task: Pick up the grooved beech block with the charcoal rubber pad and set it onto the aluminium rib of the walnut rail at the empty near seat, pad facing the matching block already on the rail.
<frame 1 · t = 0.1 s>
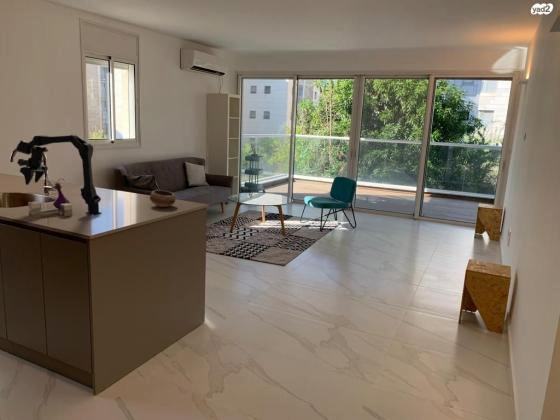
hand: (31, 183, 248), 15 cm above the table, tool pointing down, fingers open, 9 cm apart
bowl: (162, 206, 281), on the table
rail: (44, 215, 240), on the table
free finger: (66, 214, 245), on the table
perfume bottle: (61, 208, 260), on the table
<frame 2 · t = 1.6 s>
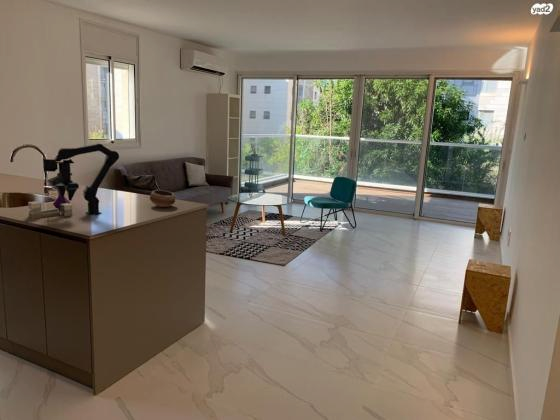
hand: (66, 199, 244), 9 cm above the table, tool pointing down, fingers open, 9 cm apart
nothing on the table moved.
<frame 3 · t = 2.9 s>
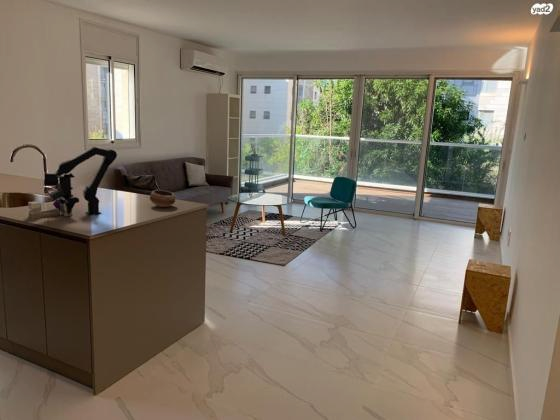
hand: (66, 213, 245), 1 cm above the table, tool pointing down, fingers closed on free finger, 5 cm apart
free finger: (66, 214, 245), on the table, touching gripper
everything else where it was.
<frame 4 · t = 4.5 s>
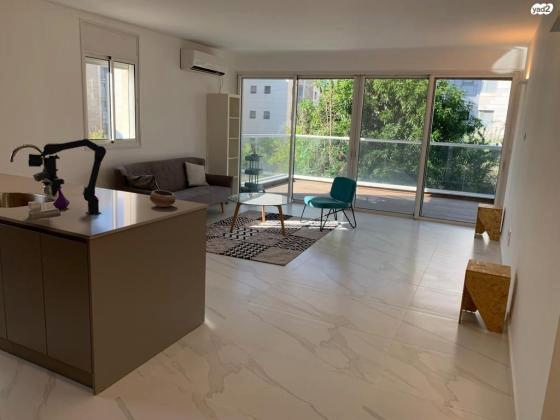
hand: (51, 195, 241), 11 cm above the table, tool pointing down, fingers closed on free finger, 5 cm apart
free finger: (51, 197, 241), point 10 cm above the table, touching gripper
everything else where it was.
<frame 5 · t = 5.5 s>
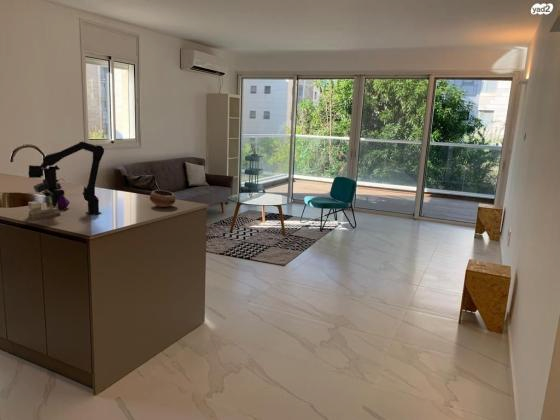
hand: (52, 205, 242), 5 cm above the table, tool pointing down, fingers closed on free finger, 5 cm apart
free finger: (52, 207, 242), point 4 cm above the table, touching gripper
everything else where it was.
when the fingers open (3 cm above the table, at t = 6.3 s): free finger stays where it is, resting on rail.
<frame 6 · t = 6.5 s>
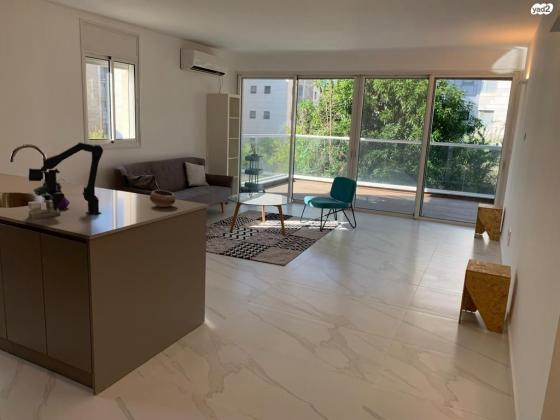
hand: (52, 208, 243), 3 cm above the table, tool pointing down, fingers open, 7 cm apart
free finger: (52, 211, 243), point 2 cm above the table, touching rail
everything else where it was.
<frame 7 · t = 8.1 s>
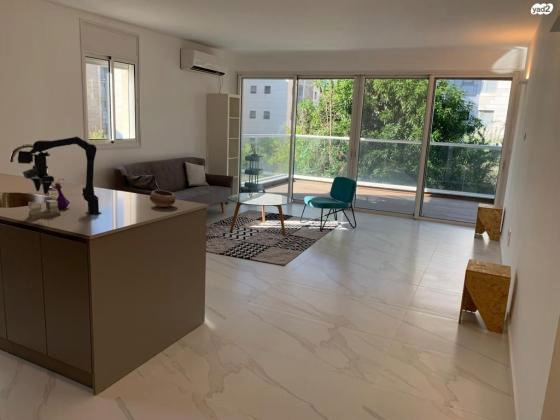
hand: (41, 192, 240), 12 cm above the table, tool pointing down, fingers open, 9 cm apart
nothing on the table moved.
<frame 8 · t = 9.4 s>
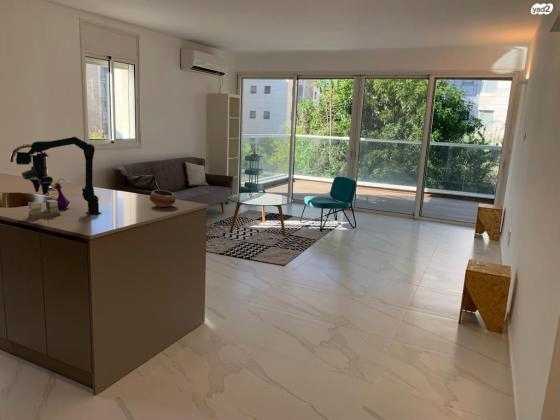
hand: (40, 193, 240), 12 cm above the table, tool pointing down, fingers open, 9 cm apart
nothing on the table moved.
at the end: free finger 0.0 cm from the target spot on the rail, point 2.0 cm above the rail's base; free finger tilted 0°; the gripper is holding nothing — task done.
